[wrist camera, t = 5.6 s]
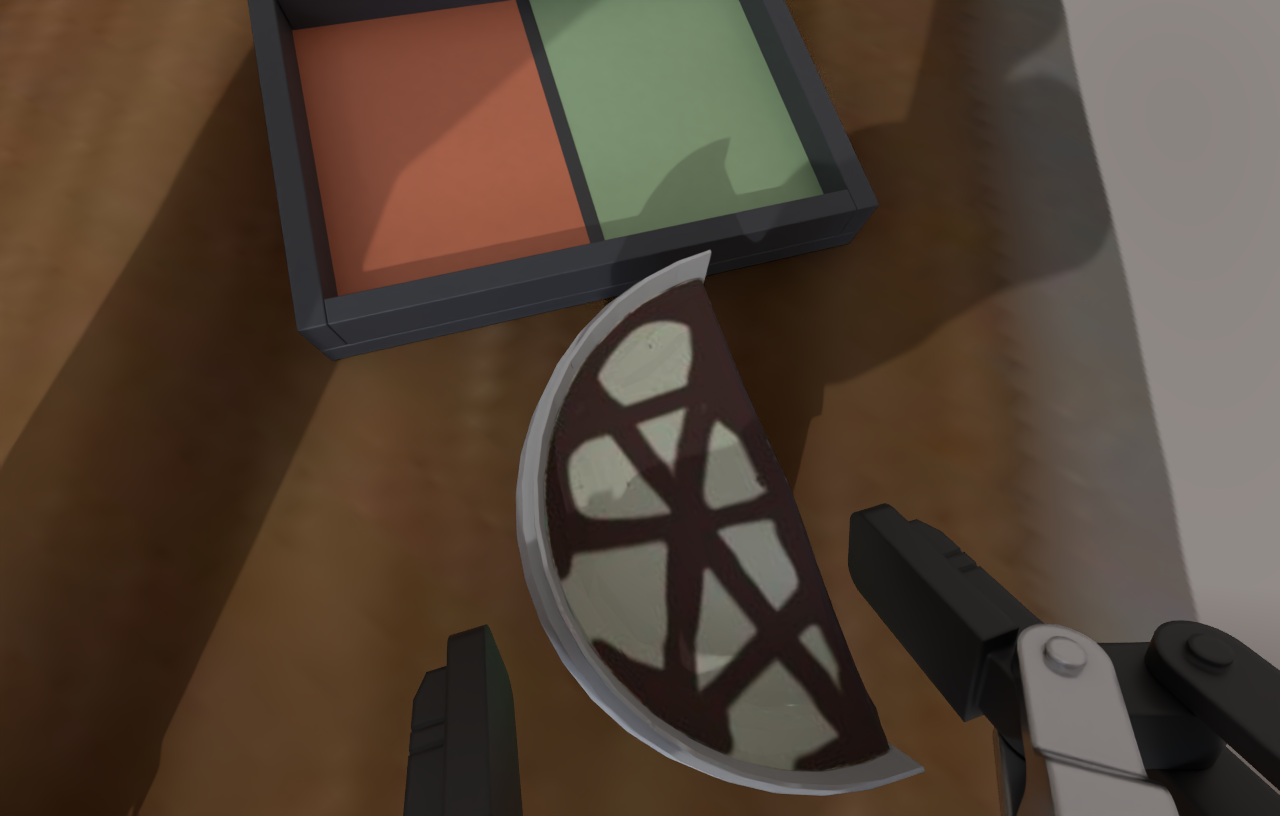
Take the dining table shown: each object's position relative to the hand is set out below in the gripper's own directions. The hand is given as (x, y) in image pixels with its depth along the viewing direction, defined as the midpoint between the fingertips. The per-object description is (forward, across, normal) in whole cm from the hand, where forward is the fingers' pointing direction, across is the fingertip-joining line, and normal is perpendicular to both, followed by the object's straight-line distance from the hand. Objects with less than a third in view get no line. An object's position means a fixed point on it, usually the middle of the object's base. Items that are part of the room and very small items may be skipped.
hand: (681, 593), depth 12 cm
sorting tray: (+20, -2, -8) cm, 21 cm away
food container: (+7, 0, +5) cm, 9 cm away
